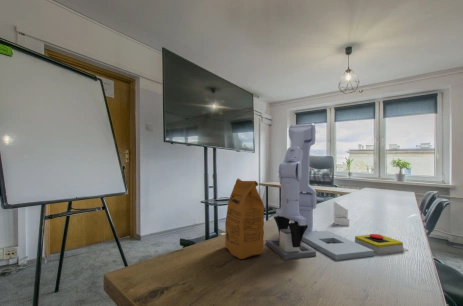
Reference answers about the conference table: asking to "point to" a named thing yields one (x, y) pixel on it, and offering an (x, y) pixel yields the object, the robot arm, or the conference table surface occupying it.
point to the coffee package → (244, 220)
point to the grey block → (286, 241)
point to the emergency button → (380, 244)
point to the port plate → (336, 245)
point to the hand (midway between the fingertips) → (289, 242)
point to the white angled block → (340, 215)
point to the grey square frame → (305, 253)
